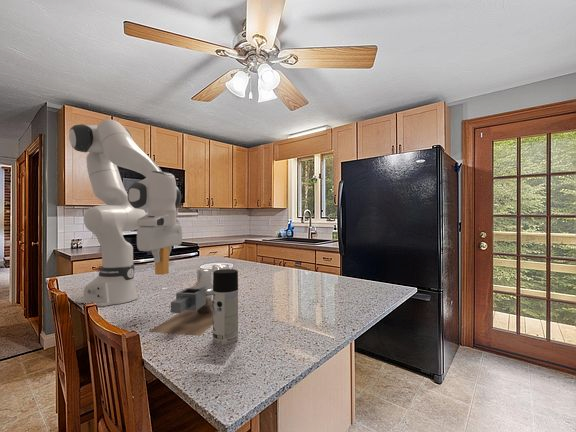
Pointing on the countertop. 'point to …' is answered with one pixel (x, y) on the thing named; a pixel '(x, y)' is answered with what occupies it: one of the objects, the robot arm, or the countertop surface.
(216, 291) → the spray can
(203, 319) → the base board
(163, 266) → the orange rectangular block
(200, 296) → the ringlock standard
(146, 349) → the countertop surface
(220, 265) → the beer glass
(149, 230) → the robot arm
